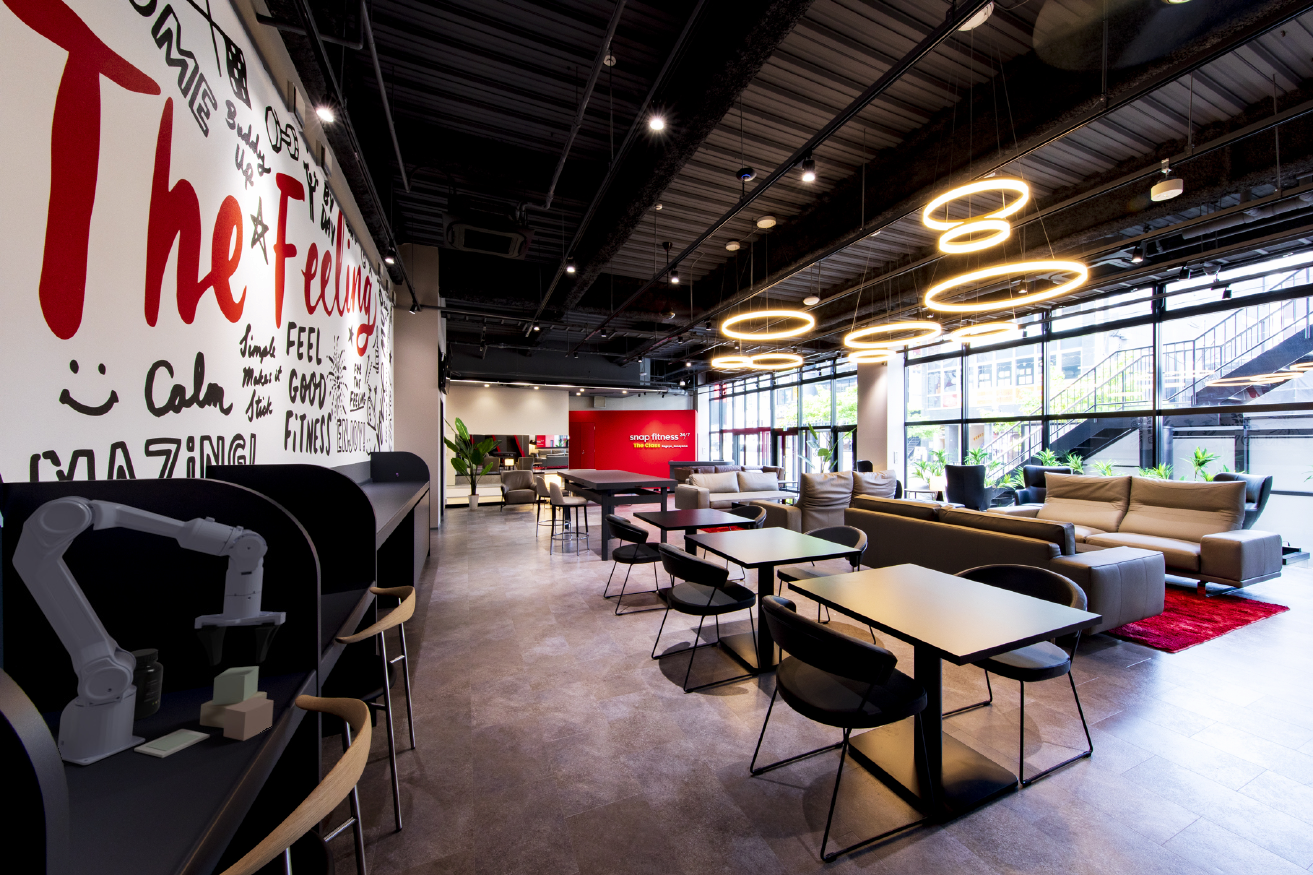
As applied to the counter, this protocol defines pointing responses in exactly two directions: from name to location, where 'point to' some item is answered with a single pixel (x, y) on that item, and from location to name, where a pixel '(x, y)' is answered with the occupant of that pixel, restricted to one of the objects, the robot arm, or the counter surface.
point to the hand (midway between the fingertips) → (238, 662)
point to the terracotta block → (248, 718)
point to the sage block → (235, 685)
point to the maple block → (219, 711)
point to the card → (171, 743)
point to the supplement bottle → (147, 682)
